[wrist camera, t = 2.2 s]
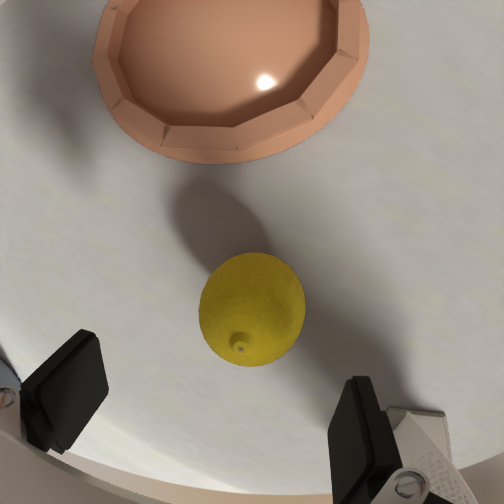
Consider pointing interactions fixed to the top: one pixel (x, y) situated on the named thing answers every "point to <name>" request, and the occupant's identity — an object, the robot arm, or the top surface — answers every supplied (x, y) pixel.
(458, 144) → the top surface
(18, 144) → the top surface
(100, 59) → the dish
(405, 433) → the skyscraper
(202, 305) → the lemon
